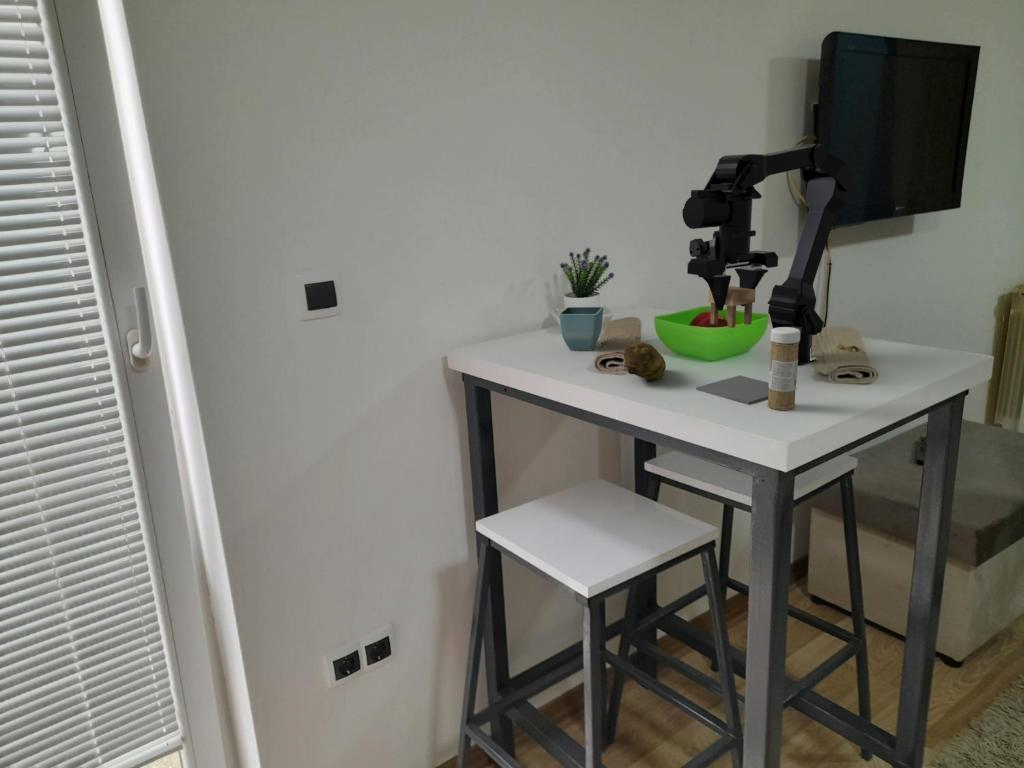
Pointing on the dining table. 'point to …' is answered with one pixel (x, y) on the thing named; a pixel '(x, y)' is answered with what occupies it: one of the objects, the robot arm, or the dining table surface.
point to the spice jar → (783, 368)
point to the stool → (734, 305)
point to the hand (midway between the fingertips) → (731, 308)
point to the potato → (644, 361)
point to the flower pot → (581, 326)
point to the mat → (739, 389)
